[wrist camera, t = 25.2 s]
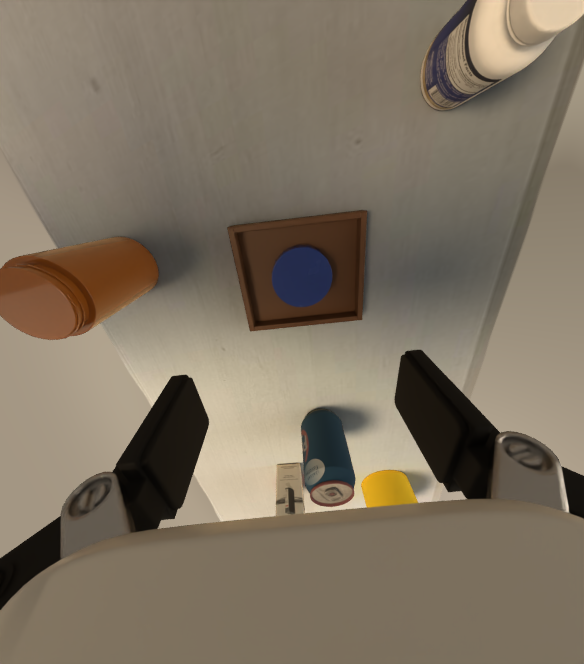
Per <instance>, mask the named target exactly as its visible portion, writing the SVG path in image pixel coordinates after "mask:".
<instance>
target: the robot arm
mask: <svg viewBox="0 0 584 664" xmlns="http://www.w3.org/2000/svg"><path fill="white" fill-rule="evenodd" d="M395 405H396V407H397V409H398V411H399V413H400V415H401V416H402V418H403V420H404V422H405V424H406V425H407V427H408V429H409V431H410V432H411V434H412V436H413V438H414V440H415V441H416V443H417V445H418V447H419V449H420V450H421V452H422V454H423V456H424V457H425V459H426V461H427V463H428V465H429V466H430V468H431V470H432V472H433V474H434V475H435V477H436V479H437V480H438V481H439V482H440V483H443V484H444V486H445V487H446V489H447V491H448V492H455V491H462V492H463V494H464V496H465V497H466V498H467V499H465V500H451V501H437V502H423V503H412V504H401V505H390V506H379V507H368V508H357V509H346V510H336V511H325V512H315V513H304V514H294V515H284V516H274V517H263V518H253V519H244V520H234V521H224V522H215V523H204V524H195V525H187V526H178V527H170V528H161V529H157V528H158V526H159V524H160V521H161V520H165V519H175V516H176V513H177V510H178V509H179V508H181V507H182V505H183V503H184V500H185V497H186V493H187V490H188V487H189V484H190V481H191V478H192V475H193V472H194V469H195V466H196V463H197V460H198V457H199V454H200V451H201V448H202V445H203V442H204V438H205V435H206V432H207V429H208V426H209V419H208V416H207V414H206V411H205V409H204V406H203V404H202V401H201V399H200V396H199V394H198V391H197V389H196V386H195V384H194V382H193V379H192V378H189V377H188V376H187V375H178V376H172V377H171V378H170V380H169V382H168V383H167V385H166V386H165V388H164V389H163V391H162V393H161V394H160V396H159V397H158V399H157V401H156V402H155V404H154V405H153V407H152V408H151V410H150V412H149V413H148V415H147V416H146V418H145V420H144V421H143V423H142V424H141V426H140V427H139V429H138V431H137V432H136V434H135V435H134V437H133V439H132V440H131V442H130V444H129V445H128V446H127V448H126V450H125V451H124V453H123V454H122V456H121V458H120V459H119V461H118V462H117V464H116V467H115V469H114V470H113V472H102V473H99V474H96V475H94V476H92V477H90V478H89V479H87V480H86V481H84V482H83V483H81V484H80V485H79V486H78V487H77V488H76V489H75V490H74V491H73V492H72V493H71V494H70V496H69V497H68V498H67V499H66V501H65V503H64V505H63V507H62V511H61V516H60V517H58V518H57V519H56V520H54V521H53V522H51V523H50V524H48V525H47V526H46V527H44V528H43V529H41V530H40V531H39V532H37V533H36V534H34V535H33V536H31V537H30V538H29V539H27V540H26V541H24V542H23V543H22V544H20V545H19V546H17V547H16V548H14V549H13V550H12V551H10V552H9V553H8V554H6V555H4V556H3V557H2V558H0V664H584V476H583V475H580V474H578V473H576V472H573V471H571V470H569V469H567V468H564V467H562V466H561V464H560V462H559V459H558V458H557V456H556V455H555V454H554V453H553V452H552V451H551V450H550V449H549V448H548V447H547V446H545V445H544V444H543V443H541V442H539V441H538V440H536V439H534V438H532V437H530V436H527V435H525V434H522V433H518V432H511V431H506V432H501V433H500V432H499V431H498V430H497V429H496V428H495V427H494V426H493V425H492V424H491V423H490V421H489V420H488V419H487V418H486V417H485V416H484V415H482V413H481V412H480V411H479V410H478V409H477V408H476V407H475V406H474V405H473V404H472V403H471V401H470V400H469V399H468V398H467V397H466V396H465V395H464V394H463V393H462V392H461V391H460V390H459V389H458V388H457V387H456V386H455V385H454V384H453V382H452V381H450V380H449V379H448V377H447V376H446V375H445V374H444V373H443V372H442V371H441V370H440V369H439V368H438V367H437V366H436V365H435V364H434V363H433V362H432V361H431V360H430V358H429V357H428V356H427V355H426V354H425V353H424V352H423V351H422V350H412V351H406V352H405V355H402V356H401V361H400V367H399V374H398V380H397V387H396V393H395Z"/></svg>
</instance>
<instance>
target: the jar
mask: <svg viewBox="0 0 584 664" xmlns="http://www.w3.org/2000/svg"><path fill="white" fill-rule="evenodd" d="M158 277H159V272H158V266H157V264H156V261H155V259H154V258H153V256H152V255H151V253H150V252H149V251H148V250H147V249H146V248H145V247H144V246H143V245H141V244H140V243H138V242H136V241H135V240H132V239H130V238H126V237H112V238H107V239H102V240H97V241H92V242H87V243H82V244H77V245H73V246H68V247H63V248H58V249H53V250H49V251H43V252H39V253H34V254H28V255H23V256H19V257H16V258H13V259H11V260H9V261H8V262H6V263H5V264H4V266H3V267H2V268H1V269H0V316H1V317H2V318H3V319H5V320H6V321H7V322H8V323H9V324H11V325H12V326H13V327H15V328H17V329H18V330H20V331H22V332H24V333H26V334H28V335H31V336H33V337H37V338H41V339H48V340H49V339H50V340H55V339H56V340H58V339H63V338H67V337H69V336H77V335H80V334H83V333H86V332H87V331H89V330H90V329H92V328H93V327H95V326H97V325H98V324H100V323H101V322H103V321H104V320H106V319H107V318H109V317H110V316H112V315H113V314H115V313H116V312H118V311H120V310H121V309H123V308H124V307H126V306H127V305H129V304H130V303H132V302H133V301H135V300H136V299H138V298H140V297H141V296H143V295H144V294H146V293H147V292H149V291H150V290H152V289H153V288H154V287H155V285H156V284H157V281H158Z"/></svg>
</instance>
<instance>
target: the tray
mask: <svg viewBox="0 0 584 664" xmlns="http://www.w3.org/2000/svg"><path fill="white" fill-rule="evenodd" d="M366 224H367V211H363V210H360V211H351V212H343V213H334V214H326V215H318V216H309V217H301V218H292V219H284V220H275V221H267V222H259V223H250V224H242V225H233V226H230V227H227V229H228V233H229V238H230V242H231V247H232V251H233V256H234V260H235V265H236V269H237V274H238V278H239V283H240V287H241V292H242V296H243V301H244V305H245V310H246V314H247V319H248V324H249V328H250V331H258V330H267V329H277V328H287V327H296V326H306V325H316V324H325V323H335V322H345V321H354V320H362V310H363V289H364V267H365V246H366ZM306 244H307V245H308V246H311V247H314V248H316V249H319V251H320V252H321V253H322V254H323V255H324V256H325V257H326V258H327V259H328V262H329V264H330V266H331V269H332V283H331V287H330V289H329V291H328V293H327V294H326V296H325V297H324V298H323V299H322V300H320V301H319V302H317V303H316V304H314V305H311V306H307V307H295V306H291V305H289V304H287V303H285V302H284V301H282V300H281V299H280V298H279V297H278V295H277V294H276V292H275V290H274V288H273V285H272V274H271V273H272V270H273V267H274V264H275V260H277V258H278V257H279V255H280V254H281V253H282V252H283V251H285V250H286V249H288V248H290V247H292V246H294V245H295V246H296V245H306Z"/></svg>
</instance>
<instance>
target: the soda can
mask: <svg viewBox="0 0 584 664" xmlns="http://www.w3.org/2000/svg"><path fill="white" fill-rule="evenodd" d="M301 434H302V448H303V463H304V478H305V486H306V488H307V490H308V491H309V493H310V498H311V500H312V501H313V502H314V503H316V504H318V505H320V506H326V507H333V506H339V505H343V504H345V503H347V502H349V501H350V500H351V499H352V498H353V496H354V485H355V474H354V470H353V466H352V462H351V458H350V454H349V450H348V446H347V442H346V438H345V434H344V430H343V426H342V422H341V420H340V418H339V417H338V416H337V415H335V414H334V413H333V412H332V411H330V410H327V409H317V410H314V411H311V412H310V413H308V414H307V416H306V417H305V419H304V420H303V422H302V425H301Z"/></svg>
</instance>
